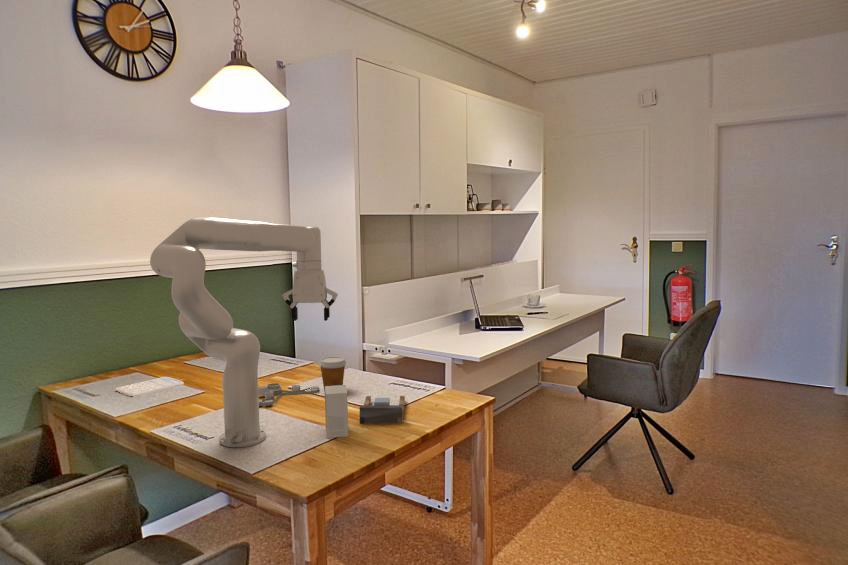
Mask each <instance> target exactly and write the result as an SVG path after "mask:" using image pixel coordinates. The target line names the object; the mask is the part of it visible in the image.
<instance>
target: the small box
mask: <svg viewBox="0 0 848 565" xmlns="http://www.w3.org/2000/svg"><path fill="white" fill-rule="evenodd" d="M348 403H349V402H348V390H347V386H346V384H343V385H336V386H325V392H324V404H325V405H324V413H325V414H324V415H325V431H326V432H325V433H326V438H327V439H329V438H330V439H331V438H343V437H349V411H348V410H349V409H348V408H349V407H348Z"/></svg>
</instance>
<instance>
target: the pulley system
mask: <svg viewBox="0 0 848 565" xmlns="http://www.w3.org/2000/svg"><path fill="white" fill-rule="evenodd" d="M310 388H311V389H310ZM307 389H310V390H307ZM305 390H307V391H305ZM317 392H318V393H319V392H320V387H319V386H318V385H317V386H316V385H315V386H310V387H306V388H304V389H301V385H300V384H294V385H291V390H284V389H283V388H282V387H281V383H277V382H274V383H268V384H266V385H263V386H262V385H261V386H258V397H259V396H260V397H261V396H263V397H264V399H260V400H259V408H260V407H261V406H262V407H263V406H272V405H274V404H275V403H276V402H277V401H278V400H279V399H280V398H281V397H282V396H292V395H293V396H296V395H297V396H298V395H309V394H314V393H315V394H318V393H317ZM275 396H276V398H275Z"/></svg>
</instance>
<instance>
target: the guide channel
mask: <svg viewBox="0 0 848 565" xmlns="http://www.w3.org/2000/svg"><path fill="white" fill-rule="evenodd" d="M405 397H406V396H405V395H399V401H398V402H399V403H398V404H396V405H395V404H394V405H374V404H373V405H371V403H370V402H372V395H366V396H365V400H364V402H363V405H360V406H359V425H360V424H362V425H363V424H364V425H365V424H369V425H370V424H374V425H375V424H403V420H404V412H405V403H404V402H405V399H406V398H405Z"/></svg>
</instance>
